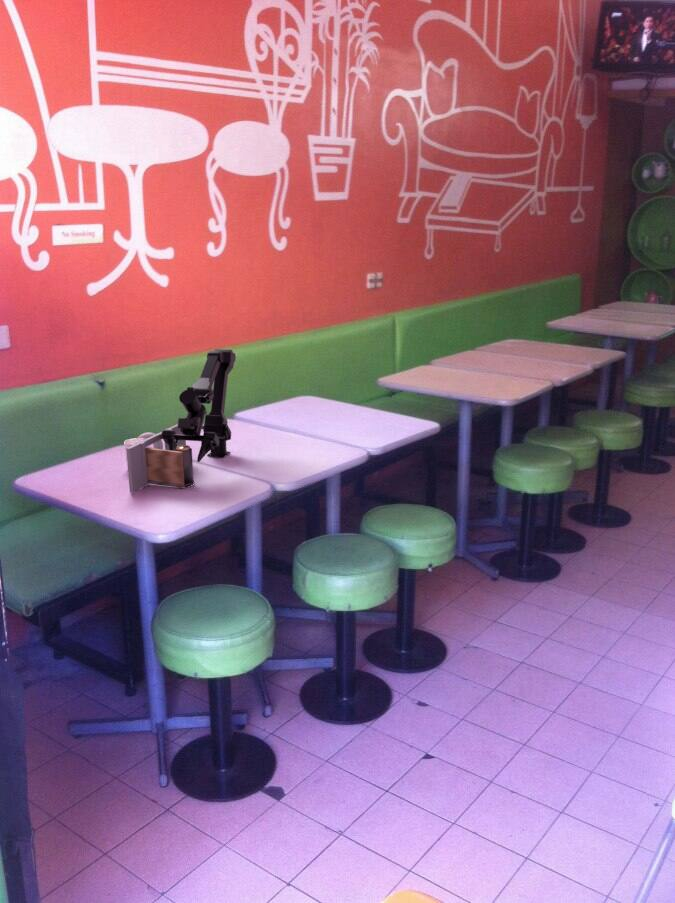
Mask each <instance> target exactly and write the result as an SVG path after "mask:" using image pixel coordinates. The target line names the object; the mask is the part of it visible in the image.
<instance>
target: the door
mask: <svg viewBox="0 0 675 903" xmlns="http://www.w3.org/2000/svg"><path fill="white" fill-rule="evenodd" d="M145 450H146V464H147V478H148V485H154V486H163V487H169V488H171V487H172V488H179V489H184V488H186V487H185V486H184V469H183V452H180V451H171V450H165V449H164V448H163V449H154V448H153V447H147V448H145Z"/></svg>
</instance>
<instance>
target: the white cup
mask: <svg viewBox="0 0 675 903" xmlns="http://www.w3.org/2000/svg"><path fill="white" fill-rule="evenodd" d="M143 440H145V439H143V438H138V437H135V438H129V439H125V440H124V441H123V444H124V445H123V446H124V454H125V460H126V465H127V466H126V467H127V468H128V462H127V449H126V448H128V447H130V446H132V445H135V444H136V443H137V442H141V441H143ZM145 448H148V446H147V447H145Z"/></svg>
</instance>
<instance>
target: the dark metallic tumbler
mask: <svg viewBox="0 0 675 903" xmlns="http://www.w3.org/2000/svg"><path fill="white" fill-rule="evenodd" d="M174 451H180V452H183V469H184V486H185V487H184V488H189V487H188V486H190V487H192V486H191V485H193V484H194V485H195V480H194V467H193V452H192V451H193V449H192V448H191V446H190V445H187V444H186V445H180V446H177V447H176V449H175V450H174ZM194 485H193V486H194Z"/></svg>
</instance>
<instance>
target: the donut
mask: <svg viewBox="0 0 675 903" xmlns="http://www.w3.org/2000/svg"><path fill="white" fill-rule="evenodd" d="M156 434H157V433H155V432H148V431H147V432H143V433H142V434H140V435H139V436H138V437H137V438H143V439H147V438H149V437H151V436H153V435H156ZM162 440H163V439H161V440H159V441H157V442H155V443H153V444H152V445H153V447H152V448H154V449H163V450H164V444H163V441H162Z"/></svg>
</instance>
